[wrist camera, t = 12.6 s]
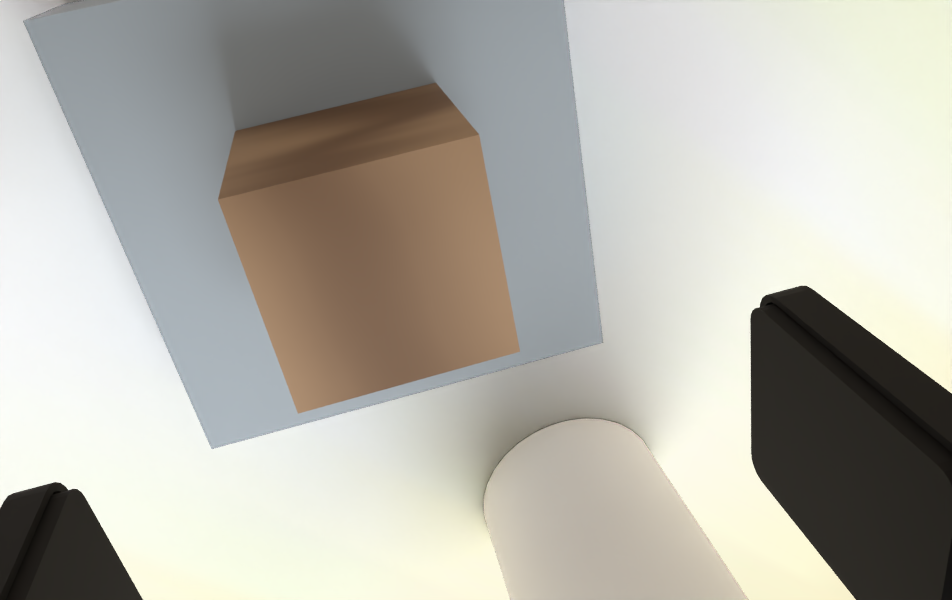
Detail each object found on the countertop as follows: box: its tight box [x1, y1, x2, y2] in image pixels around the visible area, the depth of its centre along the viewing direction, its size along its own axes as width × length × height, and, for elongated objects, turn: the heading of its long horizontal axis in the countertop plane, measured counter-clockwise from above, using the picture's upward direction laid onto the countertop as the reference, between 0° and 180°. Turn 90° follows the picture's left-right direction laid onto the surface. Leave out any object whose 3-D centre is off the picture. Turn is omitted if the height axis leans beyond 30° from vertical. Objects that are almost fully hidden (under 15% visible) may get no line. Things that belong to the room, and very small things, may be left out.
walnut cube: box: [218, 83, 520, 414], centre depth 18 cm, size 5×5×5 cm
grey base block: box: [23, 0, 603, 449], centre depth 22 cm, size 12×12×4 cm
